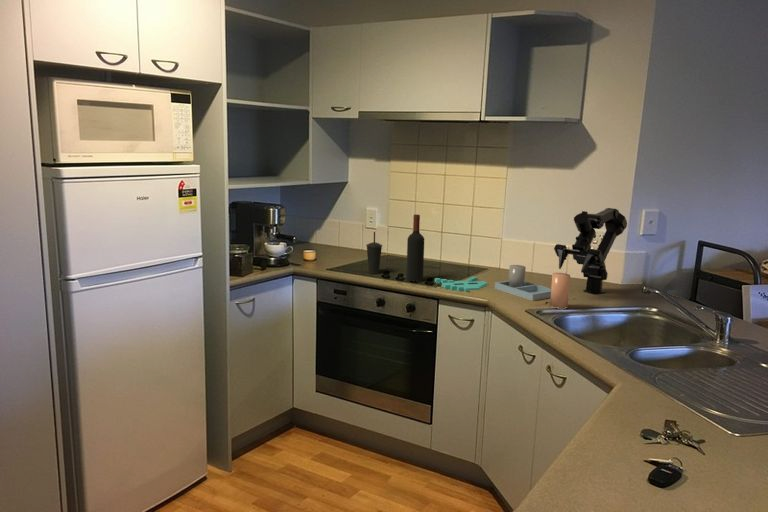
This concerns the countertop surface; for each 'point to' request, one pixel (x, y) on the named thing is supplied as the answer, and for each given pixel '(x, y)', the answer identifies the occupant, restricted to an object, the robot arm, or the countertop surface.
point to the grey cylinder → (516, 276)
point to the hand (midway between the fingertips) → (570, 270)
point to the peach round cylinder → (560, 290)
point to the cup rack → (525, 290)
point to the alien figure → (462, 284)
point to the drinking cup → (374, 256)
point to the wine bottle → (415, 253)
